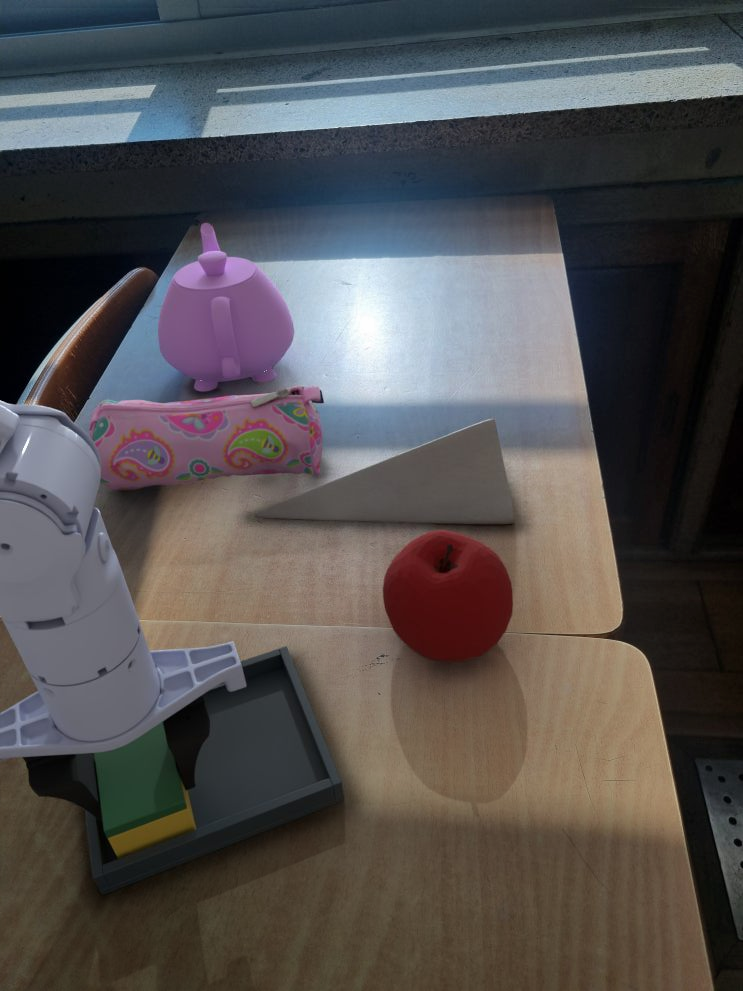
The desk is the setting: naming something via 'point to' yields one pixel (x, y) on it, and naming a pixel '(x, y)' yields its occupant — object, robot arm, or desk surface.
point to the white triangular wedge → (417, 486)
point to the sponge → (142, 794)
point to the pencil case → (207, 438)
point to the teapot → (223, 319)
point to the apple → (448, 596)
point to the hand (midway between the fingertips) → (146, 790)
